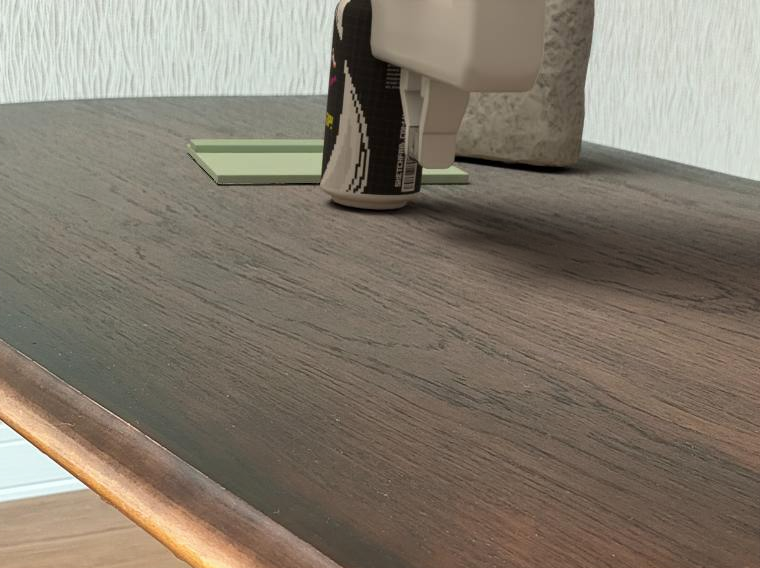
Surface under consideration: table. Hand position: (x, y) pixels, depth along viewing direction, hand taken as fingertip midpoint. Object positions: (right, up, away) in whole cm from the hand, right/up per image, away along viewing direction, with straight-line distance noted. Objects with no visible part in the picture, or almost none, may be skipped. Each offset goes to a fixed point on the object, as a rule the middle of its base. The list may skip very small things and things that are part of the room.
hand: (428, 164), depth 75 cm
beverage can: (-2, 0, +9) cm, 9 cm away
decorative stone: (+9, +6, +25) cm, 27 cm away
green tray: (-4, +5, +20) cm, 21 cm away
